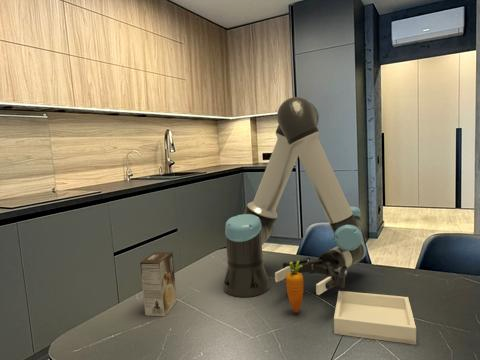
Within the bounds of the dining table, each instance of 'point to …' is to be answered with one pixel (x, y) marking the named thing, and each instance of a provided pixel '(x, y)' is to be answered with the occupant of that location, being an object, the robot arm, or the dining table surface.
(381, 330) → the tray
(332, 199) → the robot arm
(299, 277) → the carrot
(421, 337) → the dining table surface
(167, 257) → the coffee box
